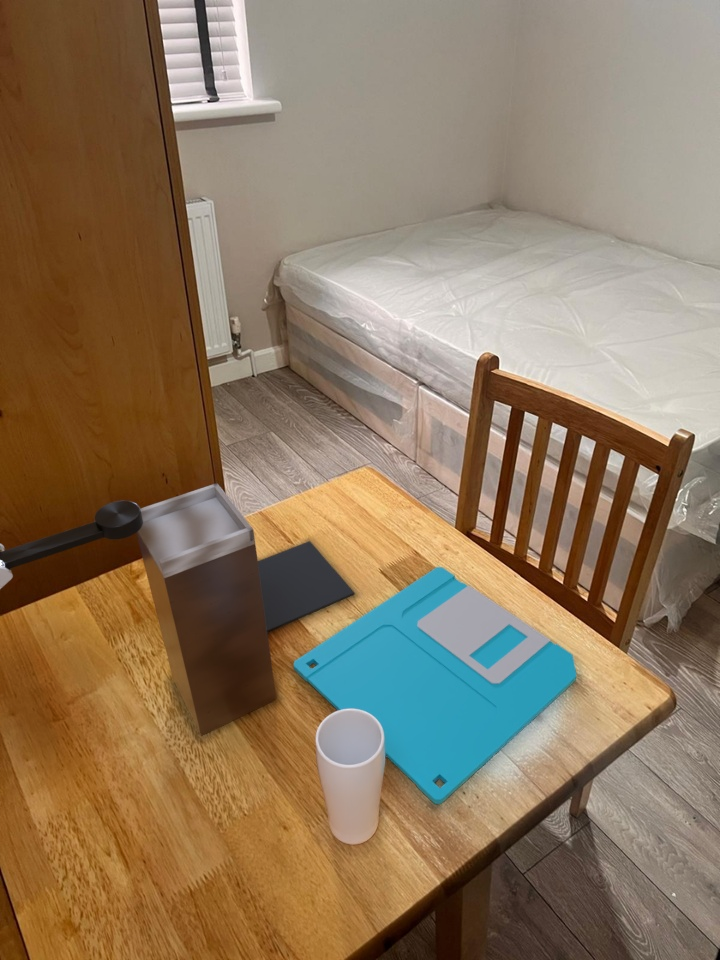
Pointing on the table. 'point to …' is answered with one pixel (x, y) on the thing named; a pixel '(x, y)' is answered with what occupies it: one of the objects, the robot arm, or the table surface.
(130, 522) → the lever handle
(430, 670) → the diskette
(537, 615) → the table surface
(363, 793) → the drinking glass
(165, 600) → the stand
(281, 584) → the mat
